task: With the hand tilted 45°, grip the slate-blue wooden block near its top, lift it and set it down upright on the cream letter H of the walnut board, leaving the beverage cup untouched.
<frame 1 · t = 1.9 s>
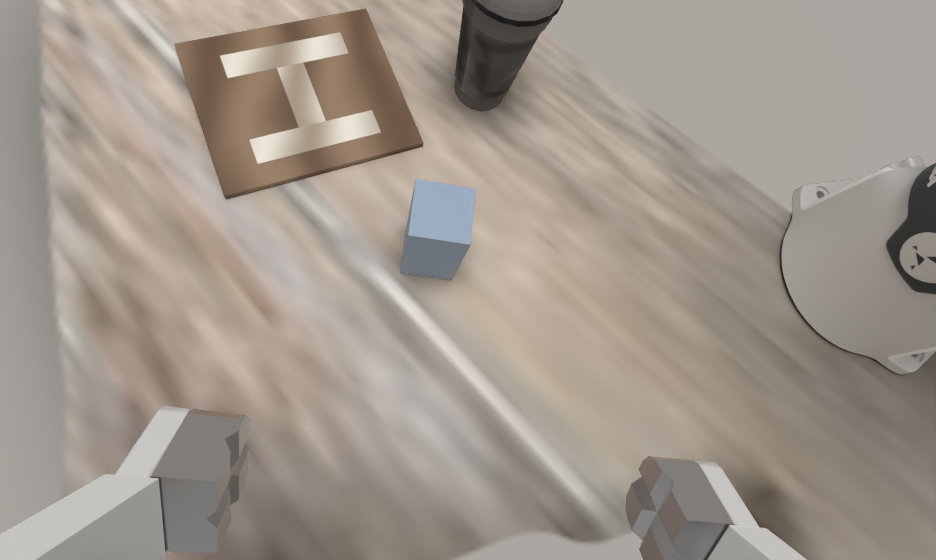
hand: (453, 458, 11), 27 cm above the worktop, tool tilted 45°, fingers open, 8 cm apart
slate block: (428, 252, 41), on the worktop
beverage cup: (478, 90, 46), on the worktop
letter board: (301, 98, 43), on the worktop
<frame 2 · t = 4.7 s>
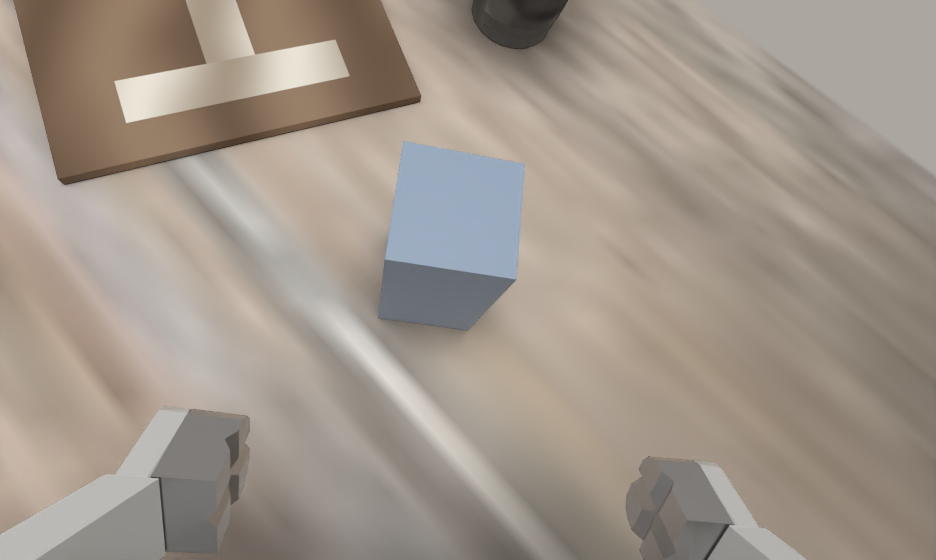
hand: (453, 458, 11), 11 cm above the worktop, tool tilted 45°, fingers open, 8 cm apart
slate block: (428, 281, 24), on the worktop
beverage cup: (510, 17, 29), on the worktop
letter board: (216, 17, 25), on the worktop
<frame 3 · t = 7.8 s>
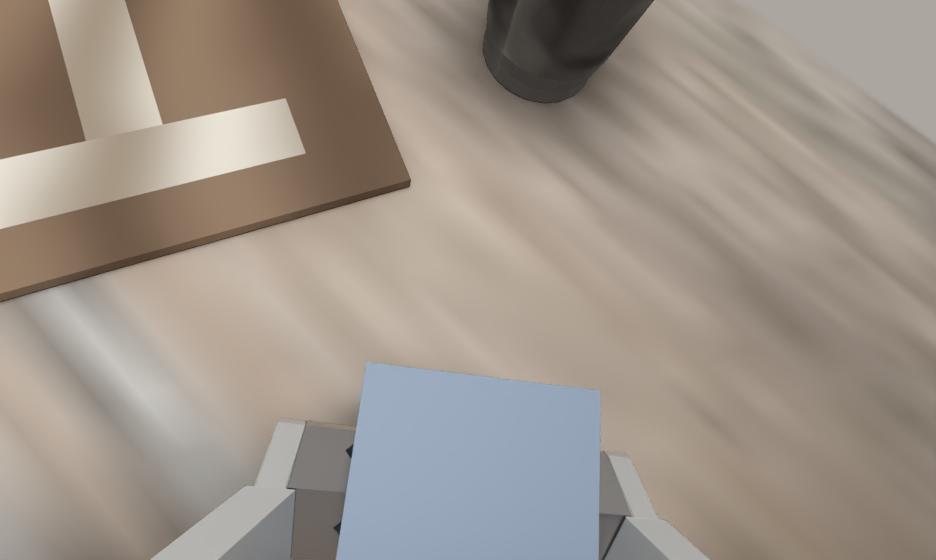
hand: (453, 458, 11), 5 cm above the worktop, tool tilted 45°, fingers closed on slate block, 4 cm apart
slate block: (421, 474, 15), on the worktop, touching gripper
beverage cup: (535, 58, 21), on the worktop
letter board: (110, 67, 17), on the worktop
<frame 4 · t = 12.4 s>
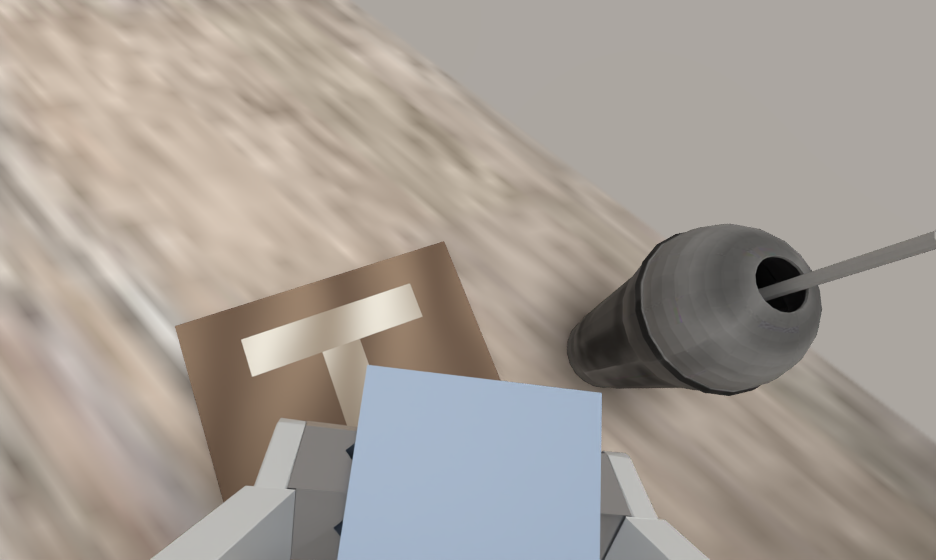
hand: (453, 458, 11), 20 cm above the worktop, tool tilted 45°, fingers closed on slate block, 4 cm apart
slate block: (422, 475, 15), point 14 cm above the worktop, touching gripper
beverage cup: (599, 351, 33), on the worktop
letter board: (358, 394, 30), on the worktop
when the fingers open (7 cm above the worktop, at t = 17.3 s): slate block stays where it is, resting on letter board.
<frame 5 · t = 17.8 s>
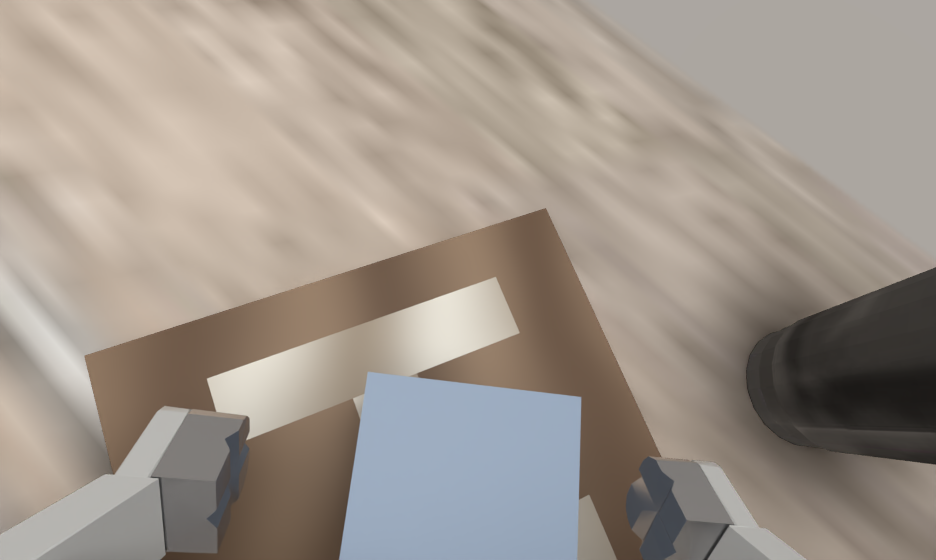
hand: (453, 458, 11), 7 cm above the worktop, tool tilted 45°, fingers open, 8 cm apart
slate block: (419, 473, 16), point 1 cm above the worktop, touching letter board
beverage cup: (793, 386, 21), on the worktop
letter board: (415, 471, 17), on the worktop
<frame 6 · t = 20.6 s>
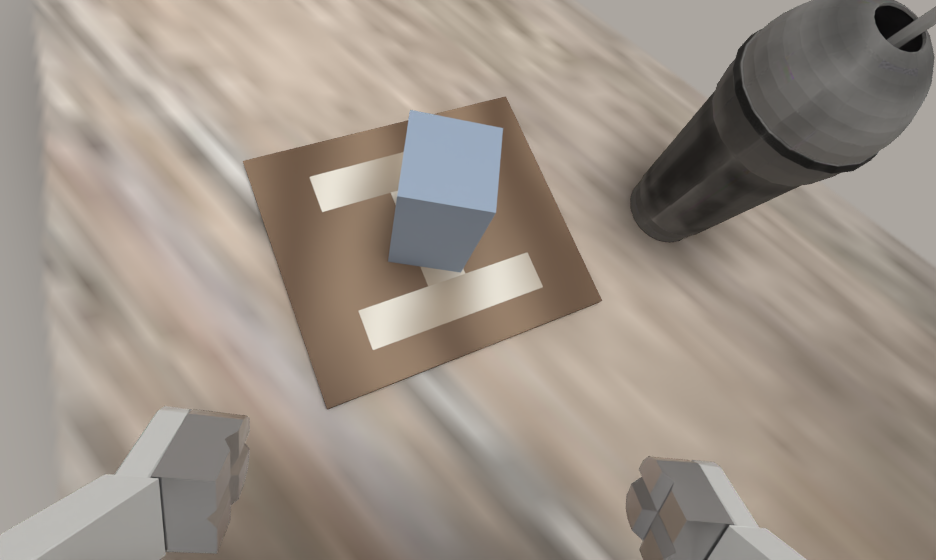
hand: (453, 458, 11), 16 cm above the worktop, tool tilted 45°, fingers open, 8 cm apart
slate block: (429, 233, 29), point 1 cm above the worktop, touching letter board
beverage cup: (661, 210, 33), on the worktop
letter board: (426, 236, 29), on the worktop
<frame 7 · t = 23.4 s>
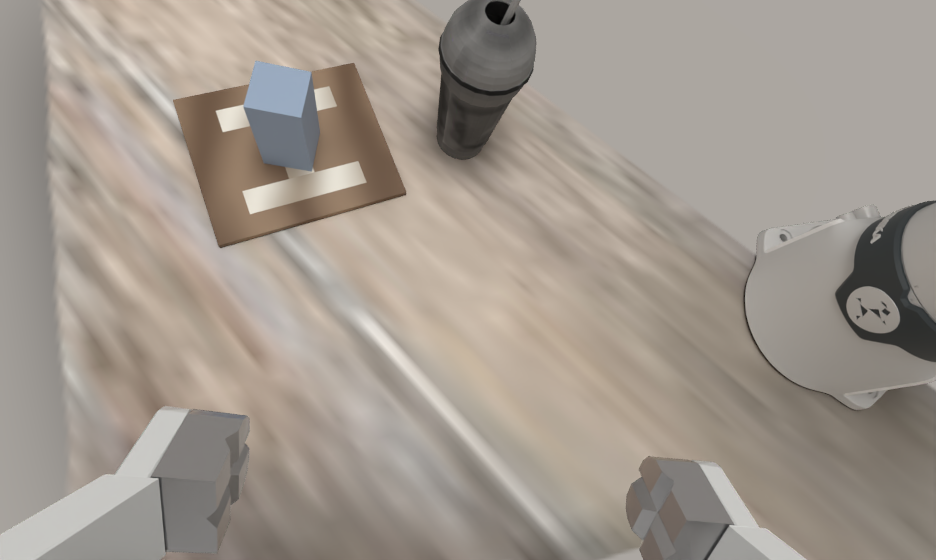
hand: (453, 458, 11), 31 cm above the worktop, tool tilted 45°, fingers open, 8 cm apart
slate block: (292, 147, 45), point 1 cm above the worktop, touching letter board
beverage cup: (459, 139, 49), on the worktop
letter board: (292, 149, 46), on the worktop
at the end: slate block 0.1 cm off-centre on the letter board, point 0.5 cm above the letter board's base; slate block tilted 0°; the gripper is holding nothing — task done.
